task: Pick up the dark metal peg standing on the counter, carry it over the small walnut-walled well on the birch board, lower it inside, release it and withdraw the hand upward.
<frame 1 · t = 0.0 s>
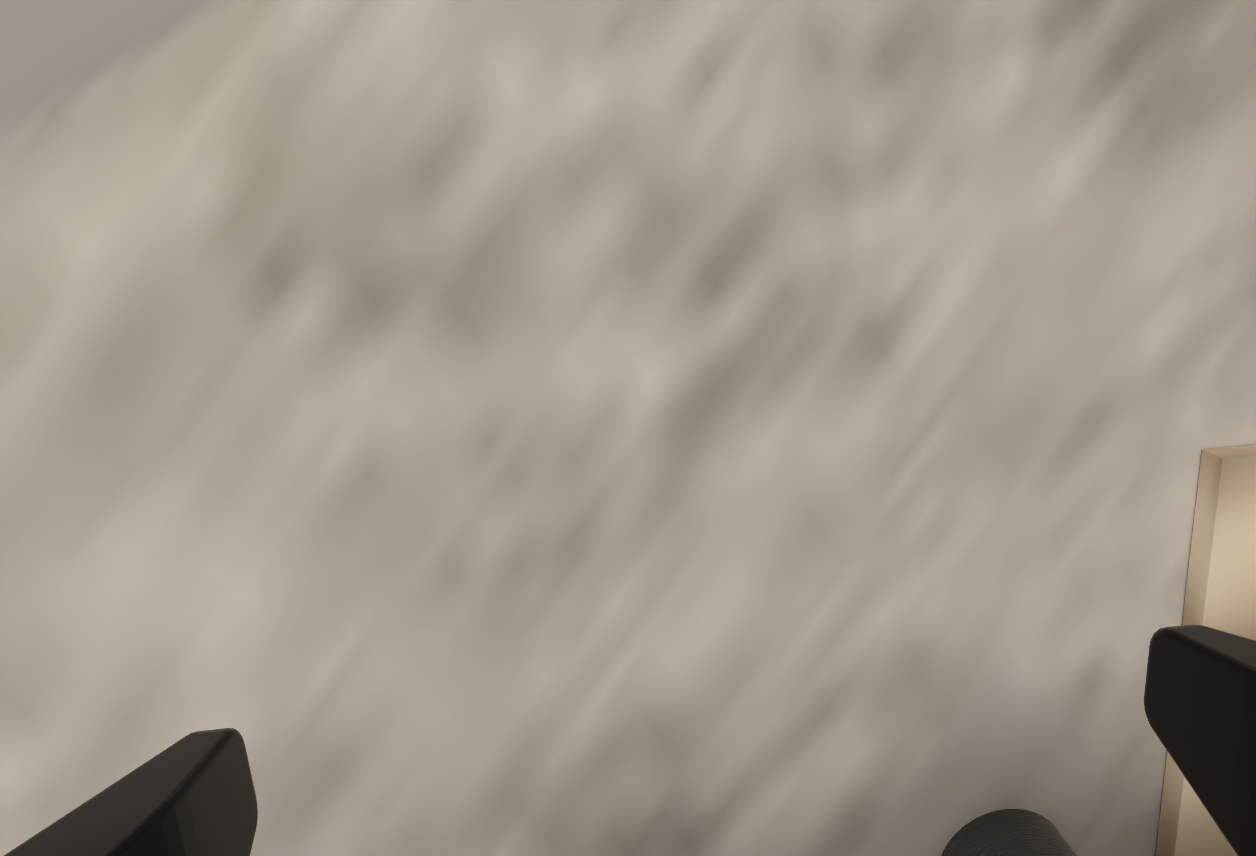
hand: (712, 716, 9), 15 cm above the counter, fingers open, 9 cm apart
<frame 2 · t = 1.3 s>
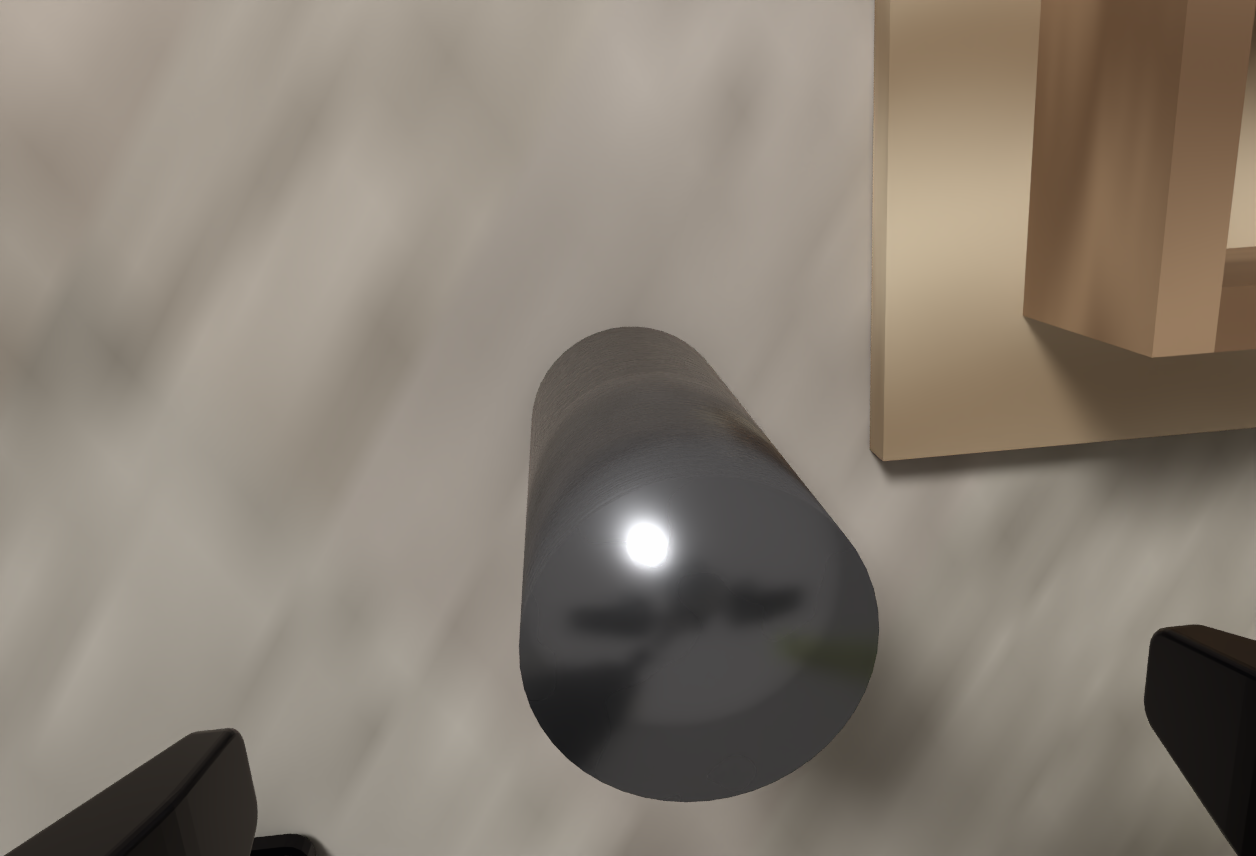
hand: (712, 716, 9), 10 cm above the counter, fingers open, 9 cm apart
well: (1227, 74, 18), on the counter
peg: (630, 423, 19), on the counter
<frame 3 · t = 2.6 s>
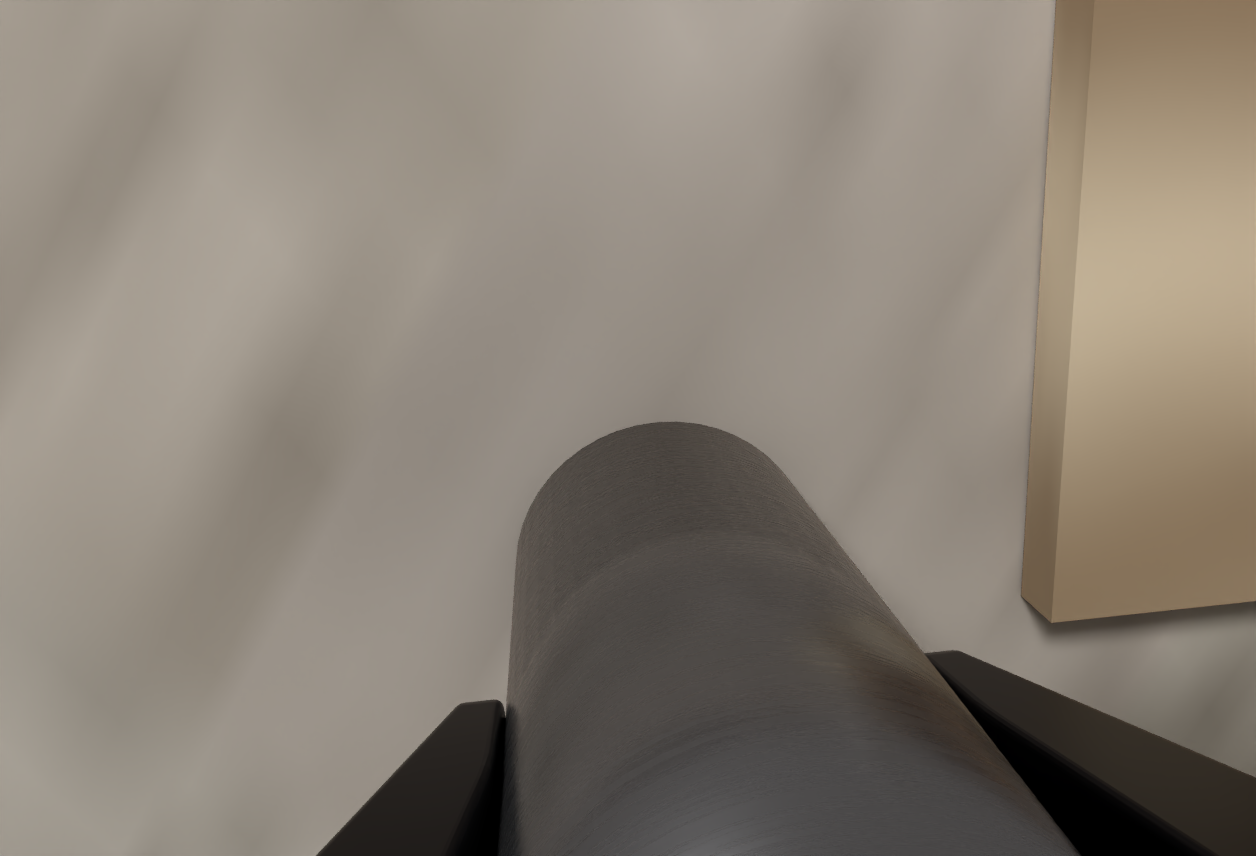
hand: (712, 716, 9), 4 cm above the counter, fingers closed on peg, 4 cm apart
peg: (665, 564, 12), on the counter, touching gripper
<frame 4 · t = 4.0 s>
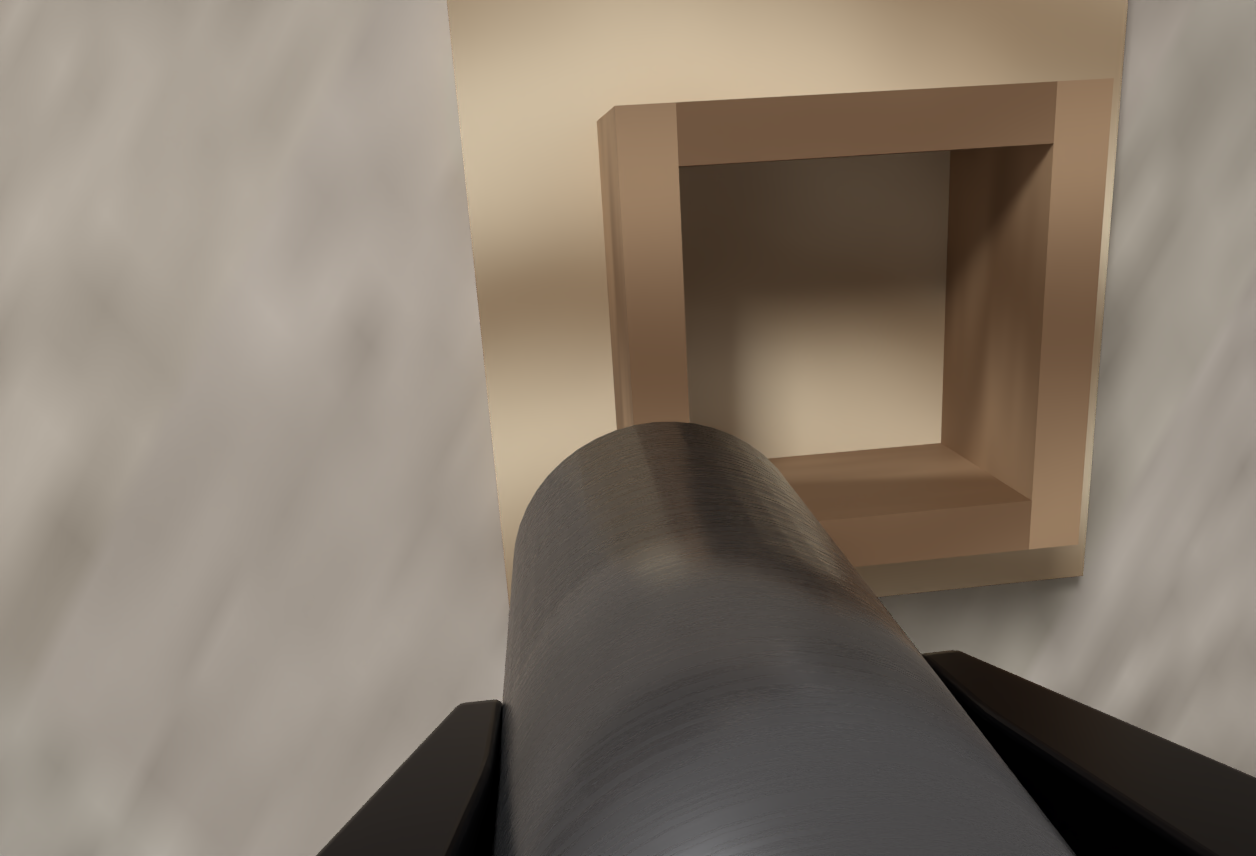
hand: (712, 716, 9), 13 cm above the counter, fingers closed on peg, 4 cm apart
well: (792, 309, 21), on the counter
peg: (663, 564, 12), point 9 cm above the counter, touching gripper
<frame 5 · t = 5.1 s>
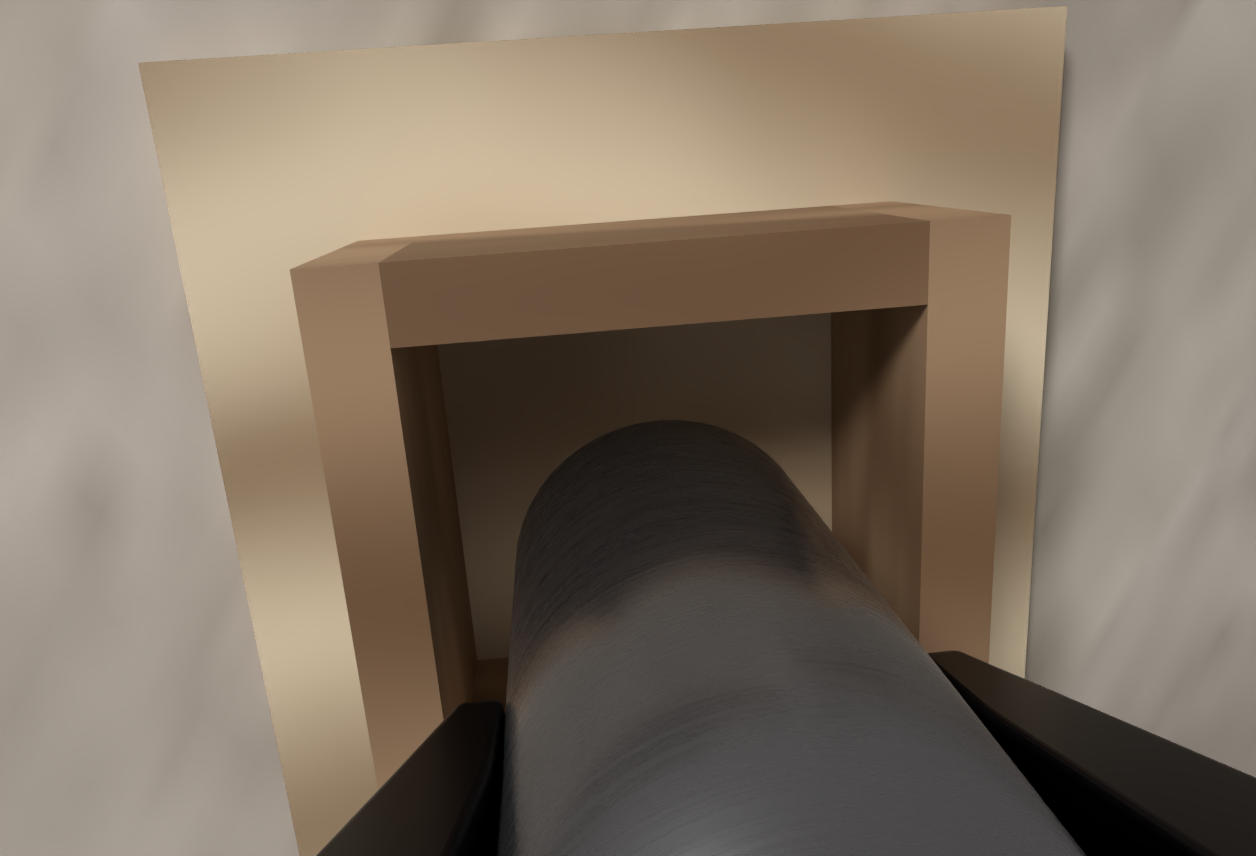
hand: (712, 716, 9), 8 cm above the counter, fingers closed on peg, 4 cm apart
well: (641, 458, 17), on the counter
peg: (666, 563, 12), point 4 cm above the counter, touching gripper
when the fingers open (6 cm above the counter, at t = 5.7 s): peg drops 2 cm, resting on well.
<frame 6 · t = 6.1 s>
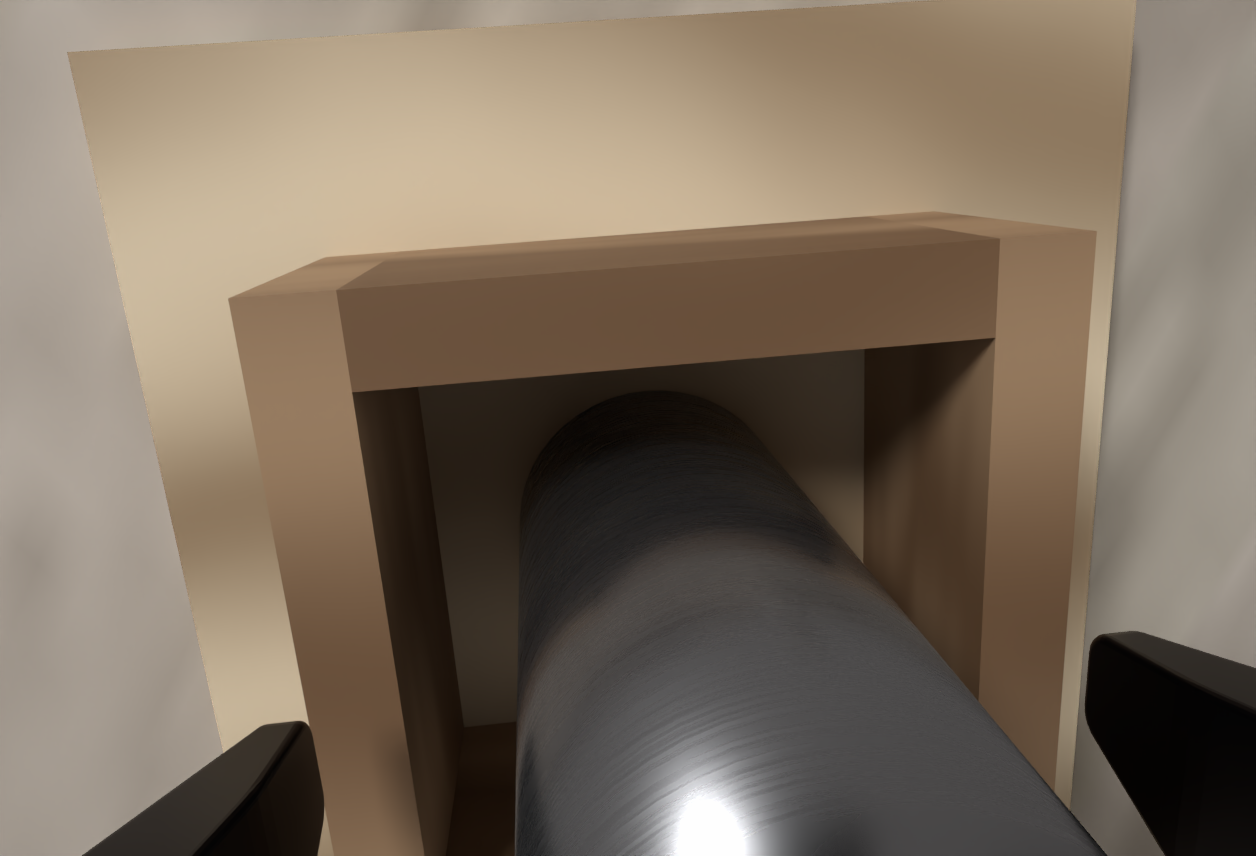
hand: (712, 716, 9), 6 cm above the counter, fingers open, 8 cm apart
well: (648, 499, 15), on the counter
peg: (652, 518, 14), point 1 cm above the counter, touching well
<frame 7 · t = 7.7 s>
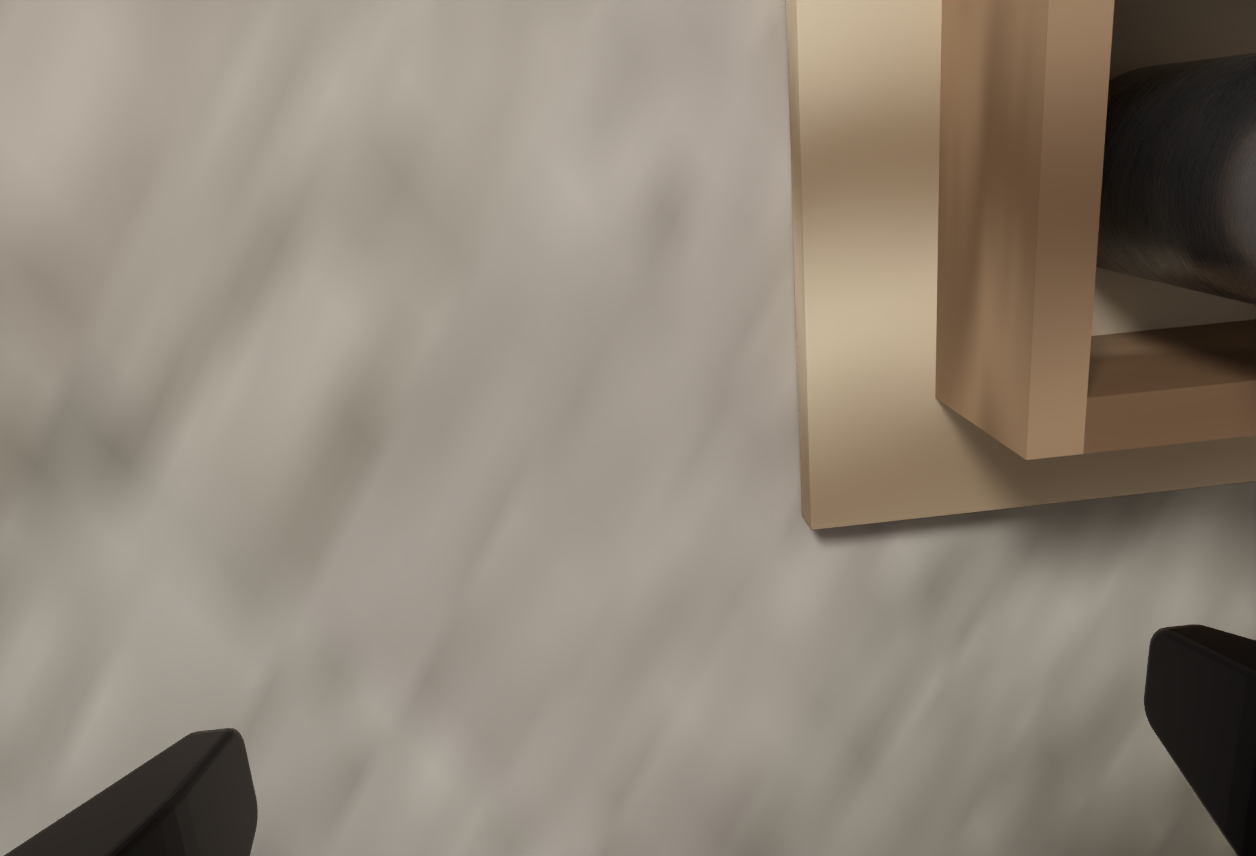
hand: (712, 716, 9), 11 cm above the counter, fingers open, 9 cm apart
well: (1122, 171, 19), on the counter
peg: (1145, 172, 18), point 1 cm above the counter, touching well
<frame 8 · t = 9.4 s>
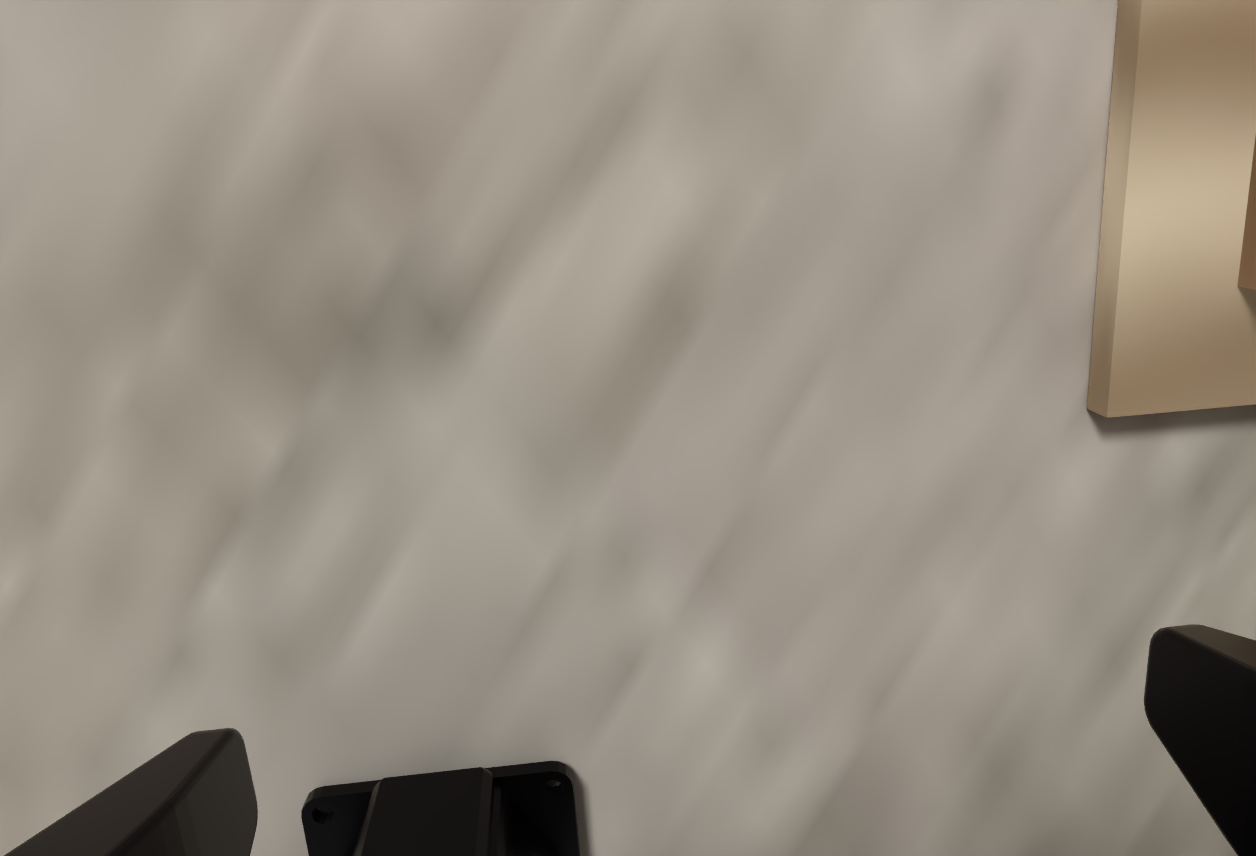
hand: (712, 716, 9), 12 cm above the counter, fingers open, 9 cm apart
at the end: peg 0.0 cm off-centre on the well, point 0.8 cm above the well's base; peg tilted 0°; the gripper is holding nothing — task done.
